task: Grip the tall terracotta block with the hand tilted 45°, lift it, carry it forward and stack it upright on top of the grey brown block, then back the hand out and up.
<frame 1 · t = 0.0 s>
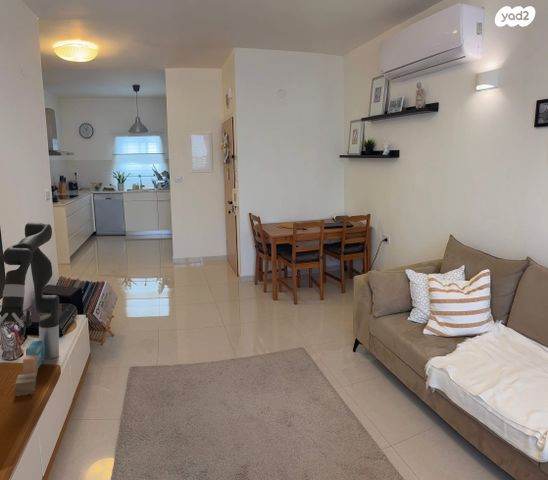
hand: (9, 337, 174), 31 cm above the tv stand, tool tilted 20°, fingers open, 8 cm apart
terracotta block: (30, 377, 209), on the tv stand
grey brown block: (26, 390, 196), on the tv stand
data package: (34, 367, 220), on the tv stand
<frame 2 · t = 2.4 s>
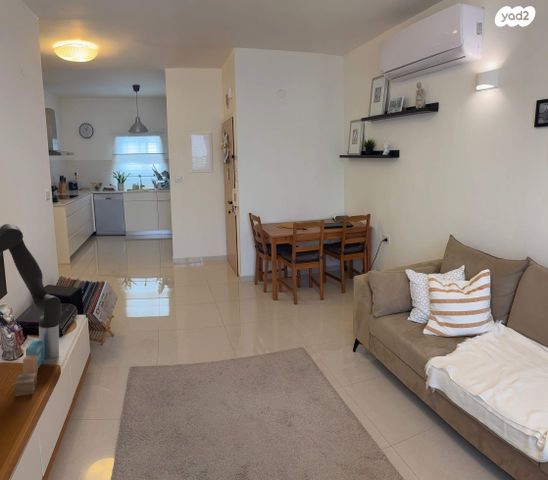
hand: (2, 327, 204), 25 cm above the tv stand, tool tilted 45°, fingers open, 8 cm apart
nothing on the tv stand moved.
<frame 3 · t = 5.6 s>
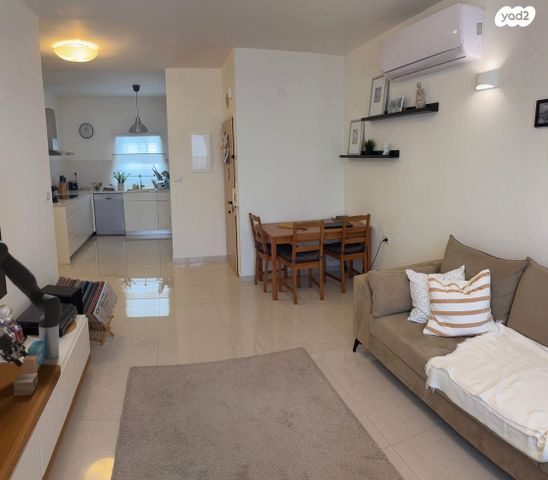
hand: (25, 361, 207), 8 cm above the tv stand, tool tilted 45°, fingers open, 8 cm apart
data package: (35, 367, 220), on the tv stand, touching gripper
everything else where it was.
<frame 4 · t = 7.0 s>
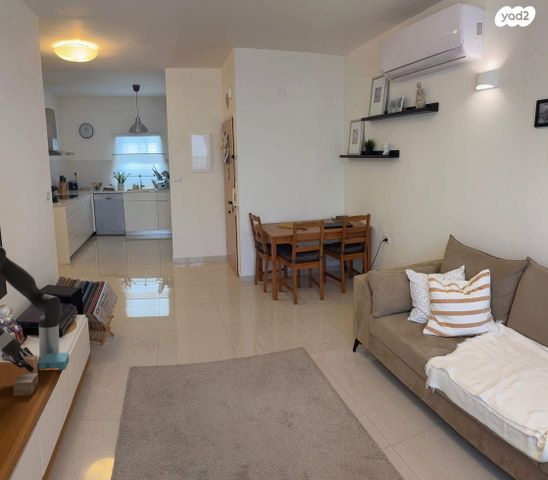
hand: (34, 368, 208), 5 cm above the tv stand, tool tilted 45°, fingers closed on terracotta block, 4 cm apart
terracotta block: (30, 377, 209), on the tv stand, touching gripper
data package: (40, 362, 221), point 2 cm above the tv stand
everything else where it was.
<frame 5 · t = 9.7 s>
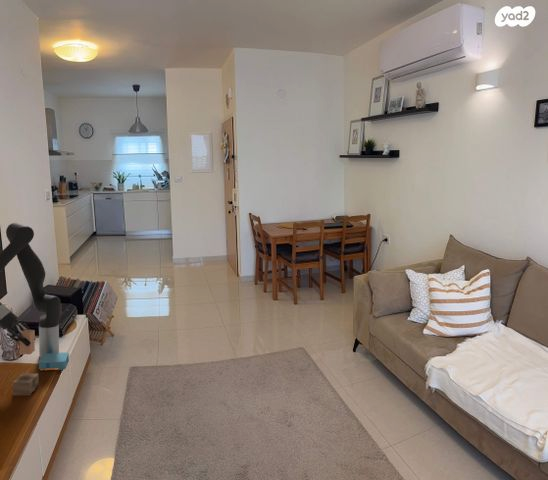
hand: (31, 342, 203), 19 cm above the tv stand, tool tilted 45°, fingers closed on terracotta block, 4 cm apart
terracotta block: (27, 352, 203), point 14 cm above the tv stand, touching gripper
everything else where it was.
when the fingers open (12 cm above the tv stand, at t = 12.2 s): terracotta block drops 2 cm, resting on grey brown block.
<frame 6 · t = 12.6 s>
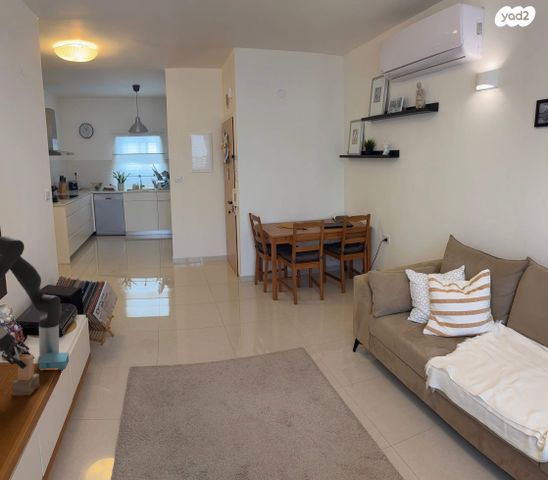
hand: (28, 363, 195), 13 cm above the tv stand, tool tilted 45°, fingers open, 8 cm apart
terracotta block: (25, 378, 196), point 6 cm above the tv stand, touching grey brown block
grey brown block: (26, 390, 196), on the tv stand, touching terracotta block
everything else where it was.
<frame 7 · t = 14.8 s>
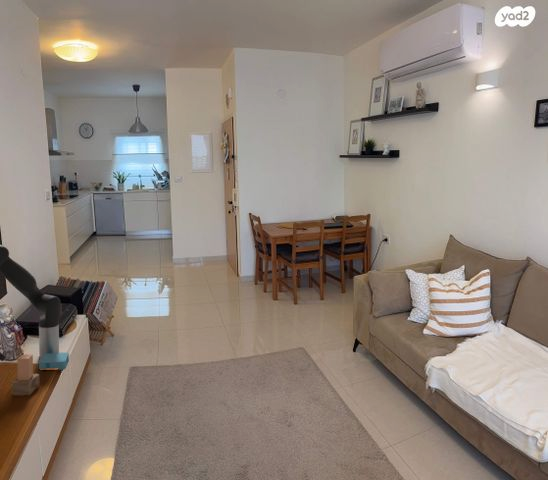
nothing on the tv stand moved.
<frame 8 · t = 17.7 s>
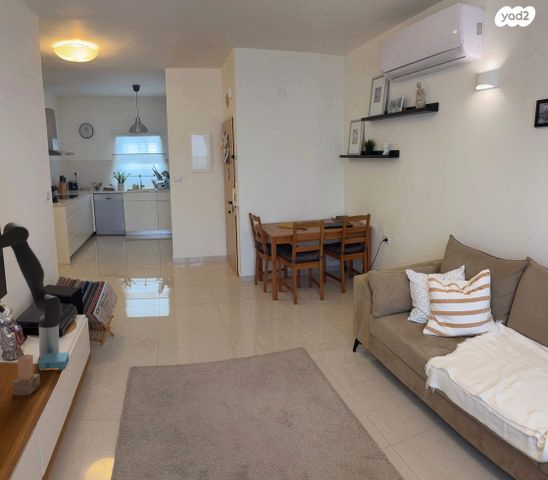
nothing on the tv stand moved.
at the end: terracotta block 0.3 cm off-centre on the grey brown block, point 6.0 cm above the grey brown block's base; terracotta block tilted 0°; the gripper is holding nothing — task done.
